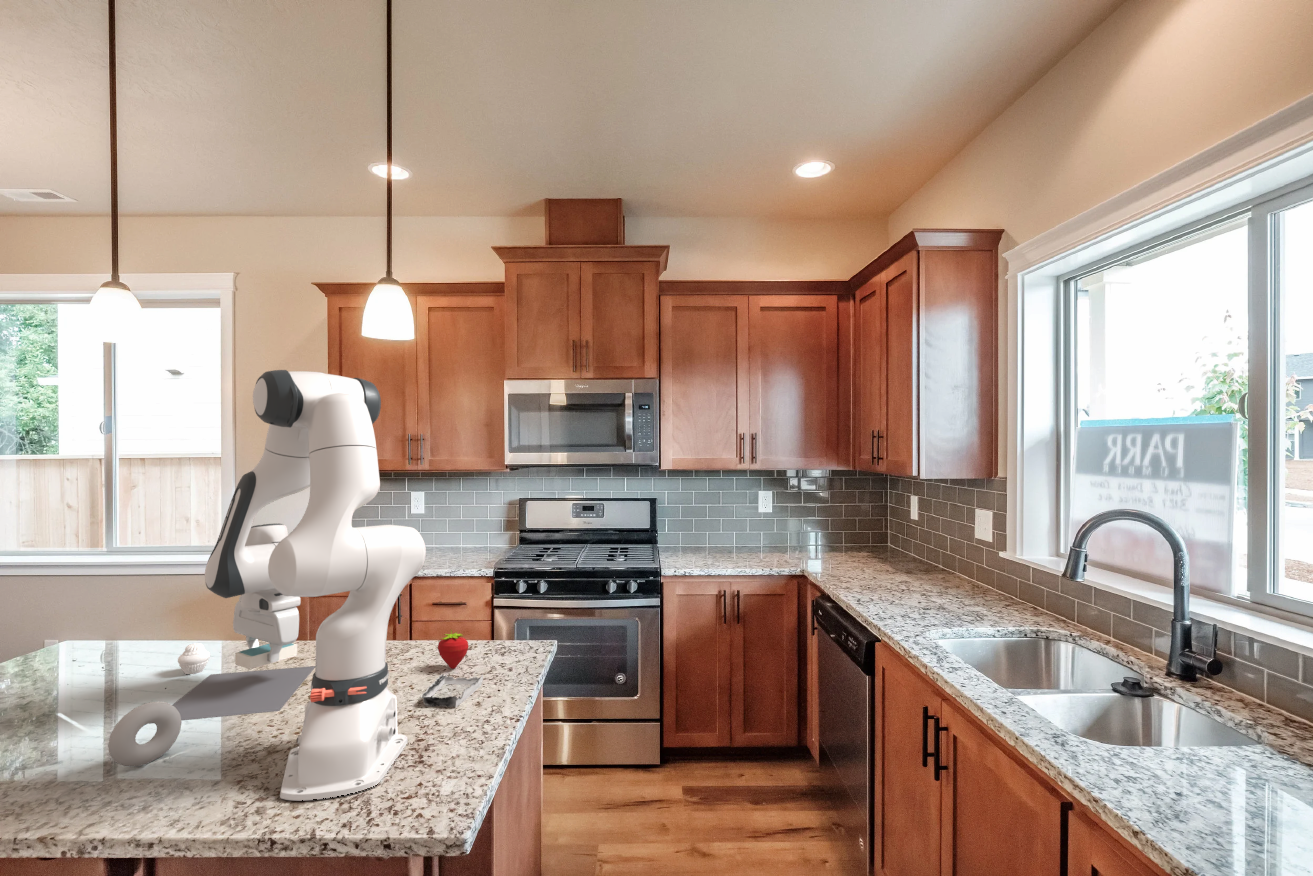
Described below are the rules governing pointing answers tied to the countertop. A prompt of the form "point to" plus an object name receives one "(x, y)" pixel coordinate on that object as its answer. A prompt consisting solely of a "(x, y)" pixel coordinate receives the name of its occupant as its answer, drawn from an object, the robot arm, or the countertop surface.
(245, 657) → the card box
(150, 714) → the donut
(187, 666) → the muffin
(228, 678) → the mat
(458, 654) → the strawberry
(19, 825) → the countertop surface
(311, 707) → the robot arm
